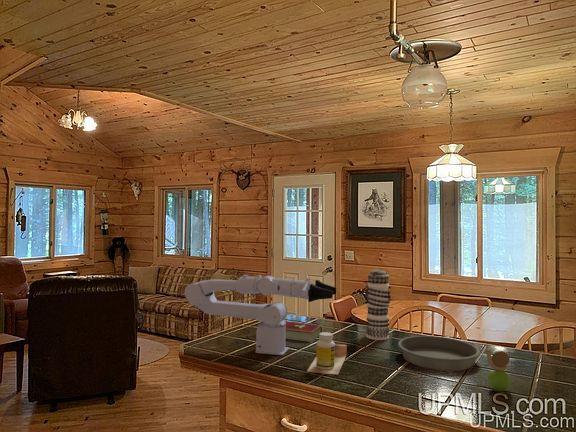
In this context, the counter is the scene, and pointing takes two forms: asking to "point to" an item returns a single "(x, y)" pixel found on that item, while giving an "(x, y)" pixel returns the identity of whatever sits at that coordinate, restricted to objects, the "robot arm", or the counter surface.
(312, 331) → the hardcover book
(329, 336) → the supplement bottle
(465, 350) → the cake pan
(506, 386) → the snail figurine
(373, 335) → the decorative candle
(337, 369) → the strip
